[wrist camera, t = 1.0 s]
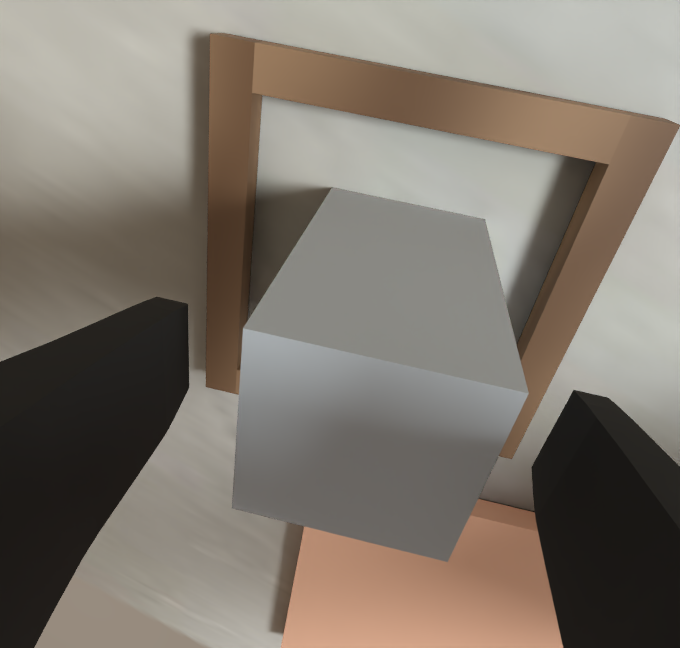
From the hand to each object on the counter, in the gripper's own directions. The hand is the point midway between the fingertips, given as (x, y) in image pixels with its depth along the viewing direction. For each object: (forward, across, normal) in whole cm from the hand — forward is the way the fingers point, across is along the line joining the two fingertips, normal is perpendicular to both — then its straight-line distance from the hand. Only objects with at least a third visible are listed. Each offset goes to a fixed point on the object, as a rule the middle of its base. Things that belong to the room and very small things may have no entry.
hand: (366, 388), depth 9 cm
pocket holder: (+5, 0, 0) cm, 5 cm away
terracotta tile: (+5, -6, +14) cm, 17 cm away
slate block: (+5, 0, 0) cm, 5 cm away
